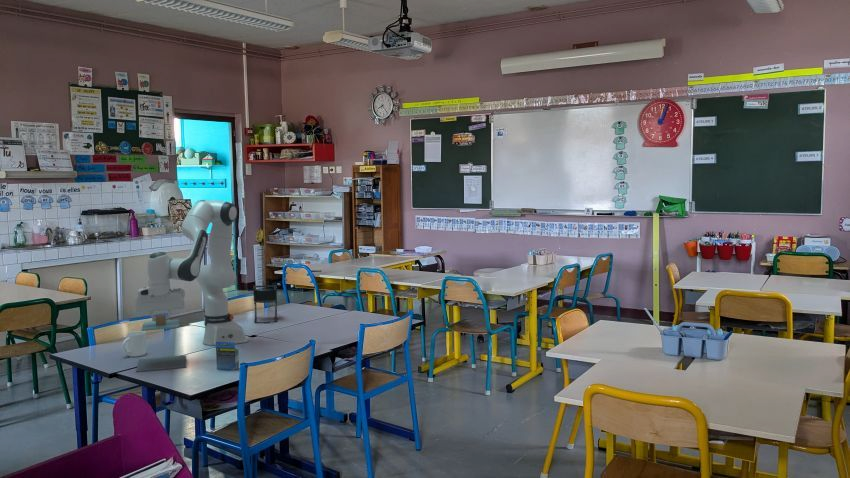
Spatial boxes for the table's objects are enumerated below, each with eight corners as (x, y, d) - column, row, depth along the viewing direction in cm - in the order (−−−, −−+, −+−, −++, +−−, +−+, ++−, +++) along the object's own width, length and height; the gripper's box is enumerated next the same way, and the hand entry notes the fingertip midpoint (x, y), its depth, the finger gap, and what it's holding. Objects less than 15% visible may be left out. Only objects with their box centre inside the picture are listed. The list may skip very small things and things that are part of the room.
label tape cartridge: (239, 368, 287) (238, 340, 286) (235, 370, 283) (234, 342, 282) (220, 367, 288) (219, 339, 287) (216, 369, 284) (215, 341, 283)
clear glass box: (254, 324, 375) (253, 285, 374) (254, 318, 392) (253, 281, 390) (277, 323, 378) (276, 285, 376) (277, 317, 395) (276, 280, 393)
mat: (186, 356, 306) (186, 355, 306) (186, 367, 287) (186, 366, 287) (139, 360, 299) (139, 359, 299) (136, 372, 280) (136, 371, 280)
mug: (128, 359, 300) (127, 337, 299) (116, 357, 304) (115, 335, 303) (150, 353, 311) (149, 332, 310) (138, 351, 315) (137, 330, 314)
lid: (179, 320, 301) (178, 310, 301) (179, 327, 287) (178, 317, 287) (143, 323, 296) (143, 313, 296) (141, 330, 282) (141, 319, 282)
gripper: (184, 286, 297) (185, 317, 298) (135, 289, 290) (136, 320, 291) (184, 289, 291) (185, 319, 292) (133, 292, 284) (135, 323, 285)
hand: (160, 320), depth 292 cm, fingers closed on lid, 4 cm apart
